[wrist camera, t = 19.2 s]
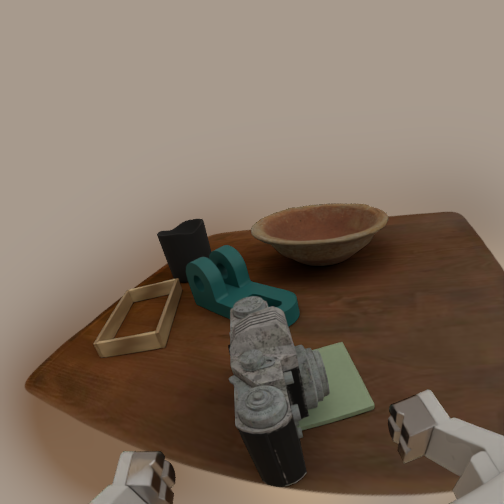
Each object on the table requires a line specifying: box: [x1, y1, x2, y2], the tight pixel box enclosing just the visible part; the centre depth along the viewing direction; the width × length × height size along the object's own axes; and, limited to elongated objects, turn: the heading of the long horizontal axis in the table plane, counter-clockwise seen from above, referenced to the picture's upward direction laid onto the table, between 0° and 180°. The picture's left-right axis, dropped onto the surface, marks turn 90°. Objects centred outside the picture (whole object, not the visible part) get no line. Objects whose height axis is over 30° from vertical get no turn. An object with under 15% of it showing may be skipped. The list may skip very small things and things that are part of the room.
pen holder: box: [157, 219, 211, 282], centre depth 63 cm, size 9×9×10 cm
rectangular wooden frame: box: [93, 278, 182, 358], centre depth 49 cm, size 11×18×2 cm, turn 4°
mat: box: [297, 342, 374, 430], centre depth 28 cm, size 10×10×1 cm
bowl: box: [251, 204, 388, 266], centre depth 55 cm, size 24×24×8 cm
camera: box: [228, 296, 330, 487], centre depth 23 cm, size 15×7×10 cm, turn 4°
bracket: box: [186, 245, 299, 327], centre depth 45 cm, size 18×7×8 cm, turn 42°
